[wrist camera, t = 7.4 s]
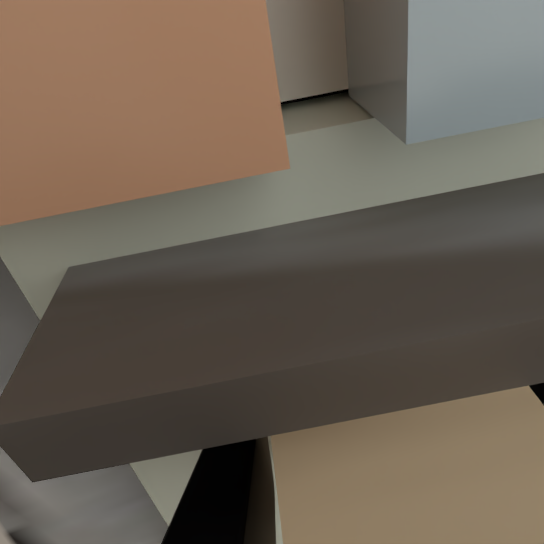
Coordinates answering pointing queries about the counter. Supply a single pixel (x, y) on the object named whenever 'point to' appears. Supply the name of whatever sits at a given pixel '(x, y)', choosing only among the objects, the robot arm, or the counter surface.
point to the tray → (308, 46)
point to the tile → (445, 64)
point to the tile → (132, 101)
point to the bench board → (268, 212)
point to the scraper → (316, 366)
